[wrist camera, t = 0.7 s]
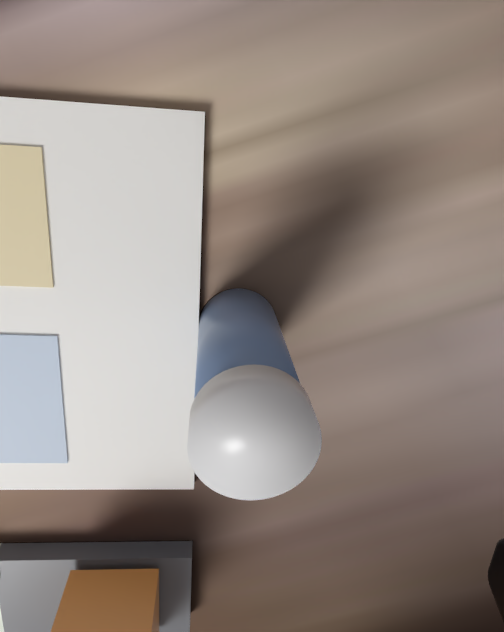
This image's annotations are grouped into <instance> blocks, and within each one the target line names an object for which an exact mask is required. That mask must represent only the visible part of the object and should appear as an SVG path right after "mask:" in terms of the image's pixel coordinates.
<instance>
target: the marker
mask: <svg viewBox="0 0 504 632" xmlns="http://www.w3.org/2000/svg"><path fill="white" fill-rule="evenodd" d="M321 443H322V437H321V430H320V426H319V423H318V420H317V418H316V415H315V412H314V410H313V407H312V404H311V402H310V399H309V397H308V395H307V393H306V391H305V389H304V388H303V387H302V385H301V384H300V382H299V379H298V376H297V374H296V371H295V368H294V365H293V362H292V360H291V357H290V354H289V351H288V349H287V346H286V343H285V340H284V337H283V335H282V332H281V329H280V326H279V324H278V321H277V318H276V315H275V312H274V310H273V308H272V306H271V305H270V303H269V302H268V301H267V300H266V299H265V298H264V297H263V296H261V295H260V294H258V293H256V292H254V291H251V290H248V289H241V288H237V289H229V290H226V291H223V292H221V293H219V294H217V295H215V296H214V297H213V298H211V299H210V300H209V301H208V302H207V304H206V305H205V307H204V308H203V310H202V312H201V315H200V319H199V331H198V347H197V363H196V379H195V395H194V401H193V404H192V406H191V410H190V417H189V430H188V443H187V450H188V457H189V461H190V464H191V466H192V469H193V470H194V472H195V474H196V475H197V476H198V478H199V479H200V480H201V481H202V482H203V483H204V484H205V485H206V486H208V487H209V488H210V489H212V490H213V491H215V492H217V493H219V494H221V495H224V496H226V497H230V498H234V499H240V500H261V499H268V498H271V497H275V496H278V495H280V494H283V493H285V492H287V491H289V490H291V489H292V488H294V487H295V486H297V485H298V484H299V483H300V482H302V481H303V480H304V479H305V478H306V477H307V476H308V475H309V473H310V472H311V471H312V469H313V468H314V466H315V464H316V462H317V460H318V457H319V455H320V450H321Z"/></svg>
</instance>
